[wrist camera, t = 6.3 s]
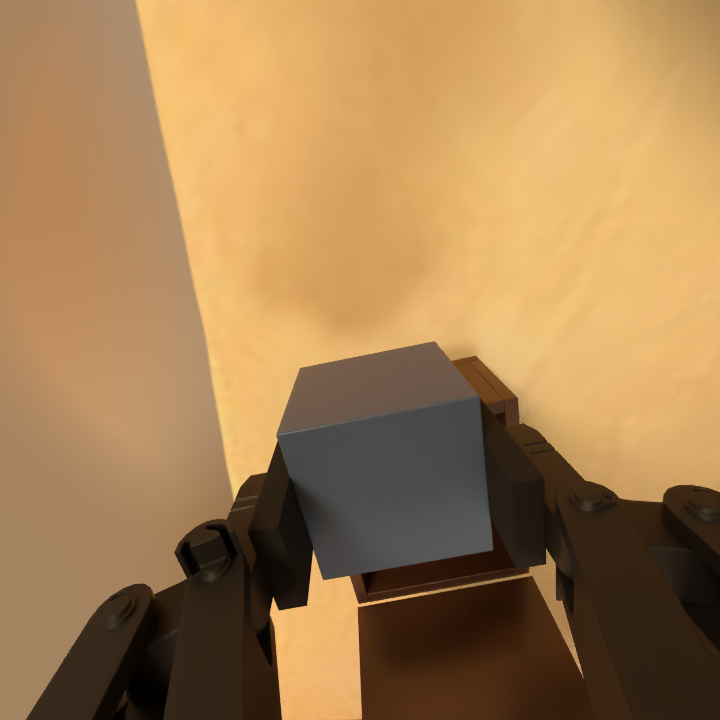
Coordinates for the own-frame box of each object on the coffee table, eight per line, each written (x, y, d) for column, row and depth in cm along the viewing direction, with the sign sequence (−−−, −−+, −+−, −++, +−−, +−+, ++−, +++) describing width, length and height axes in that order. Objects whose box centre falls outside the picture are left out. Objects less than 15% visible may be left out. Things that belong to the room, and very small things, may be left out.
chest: (317, 389, 30) (306, 440, 23) (475, 355, 30) (518, 397, 22) (356, 526, 36) (358, 604, 28) (491, 500, 35) (529, 573, 28)
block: (299, 367, 14) (275, 434, 9) (435, 340, 14) (480, 395, 9) (330, 478, 16) (322, 581, 11) (450, 456, 16) (494, 551, 11)
